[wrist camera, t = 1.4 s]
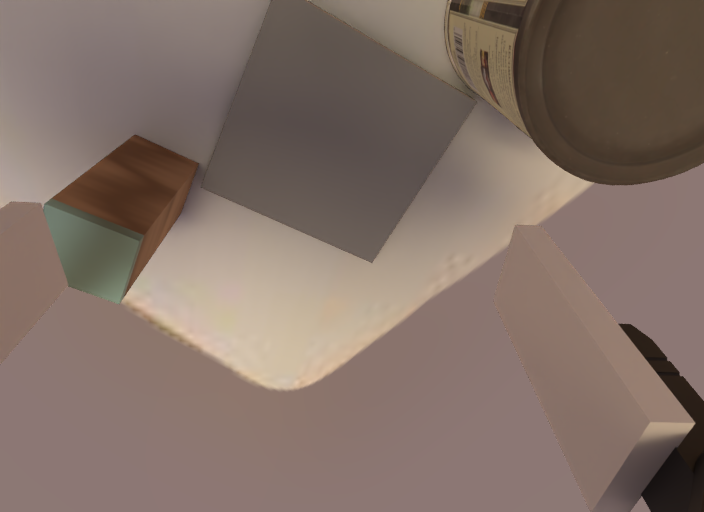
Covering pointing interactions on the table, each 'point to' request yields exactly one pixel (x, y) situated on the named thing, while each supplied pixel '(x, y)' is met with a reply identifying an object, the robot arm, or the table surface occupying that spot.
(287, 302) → the table surface
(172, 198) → the walnut block
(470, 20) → the coffee can
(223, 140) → the slate coaster
